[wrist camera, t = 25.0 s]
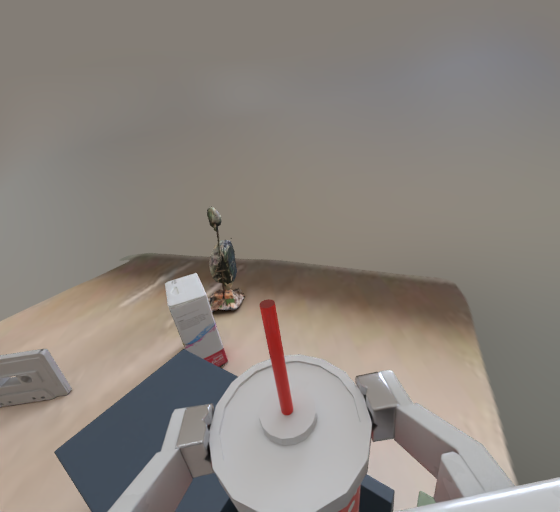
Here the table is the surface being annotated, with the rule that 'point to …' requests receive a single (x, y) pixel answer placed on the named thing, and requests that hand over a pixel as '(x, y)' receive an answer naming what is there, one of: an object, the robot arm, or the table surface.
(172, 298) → the ink box
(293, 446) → the beverage cup
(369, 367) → the table surface
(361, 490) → the drawer
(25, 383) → the cassette
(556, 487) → the robot arm
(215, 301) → the plant with pod
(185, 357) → the cabinet
